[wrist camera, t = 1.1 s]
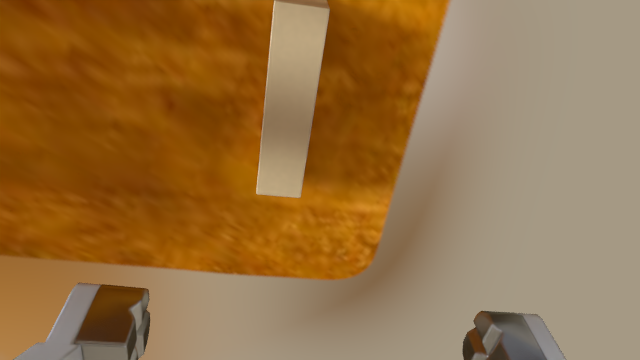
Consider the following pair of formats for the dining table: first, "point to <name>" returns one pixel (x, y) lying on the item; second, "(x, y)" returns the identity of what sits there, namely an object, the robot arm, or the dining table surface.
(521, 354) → the robot arm
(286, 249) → the dining table surface
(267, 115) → the beige rectangular block
